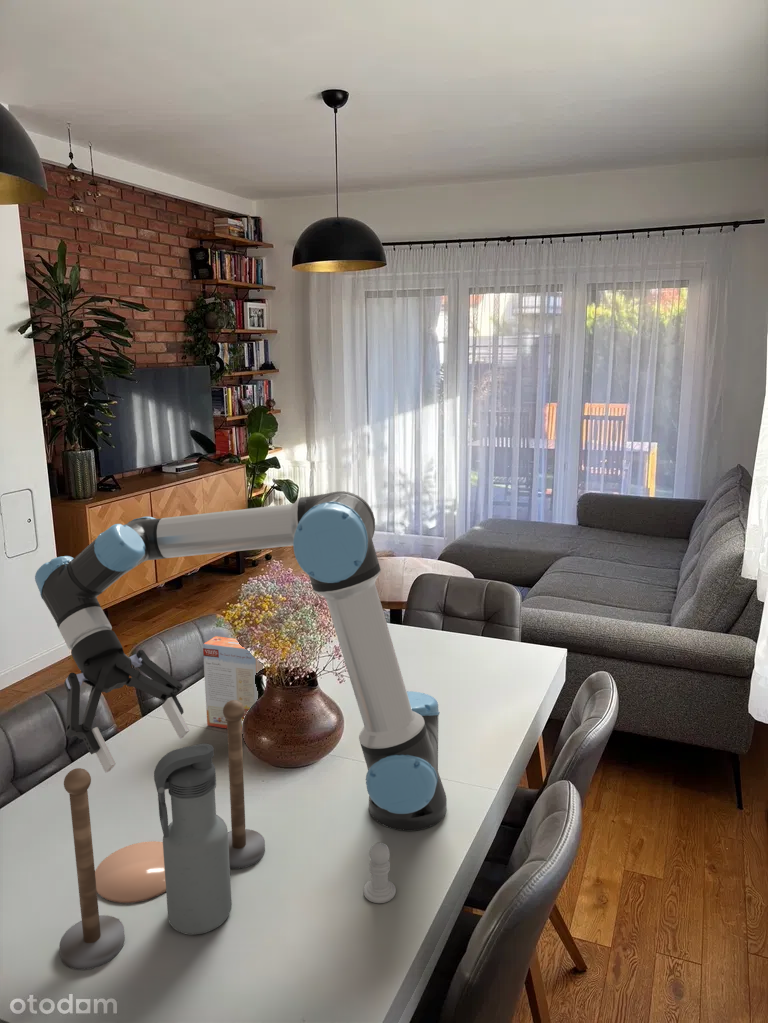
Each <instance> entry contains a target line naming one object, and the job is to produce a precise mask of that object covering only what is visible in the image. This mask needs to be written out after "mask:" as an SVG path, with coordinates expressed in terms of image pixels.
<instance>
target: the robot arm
mask: <svg viewBox="0 0 768 1023" xmlns="http://www.w3.org/2000/svg"><path fill="white" fill-rule="evenodd" d="M375 531H376V518H375V516H374V512H373V510H372V508H371V506H370V505H369V504H368V503H367V501H366V500H365V499H364V498H362V497H360V495H358V494H356V493H353V492H350V491H331V492H328V493H322V494H316V495H311V496H310V495H309V496H301V497H297V499H296V500H295V502H294V503H291V504H289V503H288V504H281V505H280V504H279V505H271V506H260V507H250V508H244V509H234V510H225V511H224V510H223V511H215V512H207V513H197V514H196V513H195V514H187V515H179V516H169V517H162V518H156V517H153V516H142V517H138V518H133V519H132V520H131V521H129V522H127V523H125V524H122V523H114V524H112V525H111V526H110V527H108V528H107V529H105V530H104V531H102V532H101V533H99V534H97V537H96V538H95V539H93V541H92V542H91V543H90V544H88V545H87V546H86V547H85V548H84V549H83V550H82V551H81V552H80V553H79V554H77V555H76V556H75V557H72V556H70V555H64V556H57V557H55V558H52V559H51V560H50V561H48V562H45V563H43V564H42V565H41V566H40V567H39V568H38V569H37V570H36V571H35V574H34V581H35V583H36V586H37V588H38V591H39V596H40V597H41V599H42V601H43V602H44V603H45V605H46V607H47V608H48V610H49V612H50V614H51V616H52V617H53V620H54V621H55V623H56V626H57V628H58V631H59V632H60V635H61V636H62V639H63V640H64V642H65V644H66V646H67V648H68V649H69V650H71V652H70V654H71V656H72V659H73V660H74V662H75V665H77V668H78V670H80V673H77V674H76V673H75V672H70V673H69V674H68V676H67V677H66V679H65V680H64V682H63V683H64V686H65V689H66V692H67V703H66V721H65V723H66V724H65V736H66V737H67V738H69V739H71V738H73V737H77V738H78V739H79V740H82V741H83V743H84V745H85V746H86V749H87V751H88V752H89V753H90V754H91V755H94V754H95V755H96V757H97V758H98V761H99V762H100V765H101V766H102V769H103V771H104V773H105V774H107V773H109V772H111V770H112V769H113V768H114V767H115V766H116V763H117V762H115V760H114V757H113V755H112V753H111V751H110V749H109V747H108V745H107V743H106V741H105V739H104V738H103V735H102V733H101V731H100V729H99V727H98V726H96V727H94V728H92V726H93V723H94V719H95V717H96V713H97V709H98V706H99V703H100V699H101V696H102V693H105V694H107V693H110V692H112V691H113V690H116V689H121V688H123V687H124V686H127V687H129V688H132V687H133V688H135V689H138V690H139V691H142V692H144V693H146V694H148V695H149V696H152V697H155V698H157V699H158V700H160V701H163V703H162V709H163V710H164V712H165V714H166V715H167V718H168V719H169V722H170V723H171V725H172V727H173V729H174V731H175V732H176V734H177V736H178V738H179V740H181V739H182V738H184V737H185V736H186V735H187V734H188V733H189V732H190V731H191V730H190V727H189V726H188V724H187V722H186V720H185V718H184V716H183V714H184V708H183V707H182V705H181V703H180V701H179V699H178V697H177V695H178V694H179V692H180V691H181V690H182V688H184V687H183V684H182V683H181V682H180V681H179V680H177V679H176V678H175V677H174V676H172V675H171V674H170V673H168V672H167V671H166V670H164V669H163V668H161V667H160V666H159V665H158V664H157V663H155V662H154V661H152V660H151V659H150V658H149V656H148V655H147V654H146V652H145V650H143V649H139V650H138V651H137V652H136V653H135V654H133V655H131V656H128V655H127V654H126V653H125V651H124V648H123V646H122V644H121V642H120V639H119V638H118V636H117V633H115V631H114V630H112V629H113V627H112V624H111V623H110V620H109V619H108V617H107V615H106V614H105V611H104V610H103V609H102V608H103V607H102V606H101V604H100V601H98V600H99V599H98V596H100V595H101V594H103V593H104V592H105V591H106V590H107V589H108V588H109V587H111V586H112V585H113V584H114V583H116V582H117V581H118V580H120V578H121V577H123V576H124V575H126V574H127V573H129V572H130V571H131V570H133V569H135V568H136V567H138V566H140V565H141V564H143V563H144V562H147V561H154V560H156V561H157V560H161V559H162V560H163V559H170V558H181V557H191V556H192V557H193V556H201V555H202V556H203V555H211V554H223V553H232V552H240V551H252V550H264V549H271V548H281V547H291V546H293V554H294V557H295V560H296V562H297V564H298V566H299V567H300V569H301V570H302V571H303V572H304V573H305V574H306V575H308V577H309V581H310V583H311V586H312V590H313V592H314V593H315V594H318V595H320V596H321V597H323V598H324V599H325V601H326V604H327V608H328V611H329V615H330V617H331V621H332V624H333V627H334V631H335V633H336V637H337V641H338V645H339V646H340V650H341V654H342V657H343V661H344V664H345V668H346V671H347V673H348V674H347V675H348V677H349V680H350V684H351V686H352V690H353V694H354V696H355V700H356V703H357V704H356V705H357V706H358V710H359V713H360V716H361V719H362V723H363V727H362V729H361V731H360V732H359V735H358V740H359V743H360V747H361V750H362V754H363V758H364V760H365V763H366V768H367V772H366V776H365V787H366V791H367V793H368V811H369V814H370V816H371V817H372V818H373V820H375V821H376V822H377V823H379V824H380V825H382V826H384V827H386V828H390V829H393V830H398V831H405V832H406V831H409V832H410V831H411V832H412V831H420V830H424V829H427V828H431V827H432V826H435V825H436V824H439V822H440V821H442V820H443V818H444V817H445V815H446V813H447V808H448V807H447V805H448V804H447V803H448V802H447V795H446V791H445V788H444V785H443V782H442V779H441V776H440V773H439V715H440V711H439V703H438V700H437V699H436V698H435V697H433V696H432V695H431V694H427V693H424V692H419V691H412V690H411V691H409V690H408V691H407V687H406V685H405V681H404V678H403V674H402V671H401V668H400V664H399V661H398V657H397V654H396V650H395V646H394V644H393V640H392V636H391V633H390V630H389V627H388V623H387V619H386V616H385V613H384V609H383V606H382V605H383V604H382V603H381V602H382V601H381V599H380V596H379V592H378V591H379V590H378V589H377V584H376V581H377V579H378V577H379V576H380V574H381V572H382V569H381V566H380V562H379V559H378V556H377V552H376V549H375V546H374V541H373V537H374V535H375ZM132 665H133V666H134V668H138V670H137V669H134V668H133V667H132ZM140 671H141V672H140ZM141 673H143V674H141ZM83 683H84V684H86V685H89V686H90V687H91V689H90V693H89V696H88V701H87V705H86V707H85V710H84V714H83V717H82V721H81V724H80V702H81V701H80V700H81V699H80V698H81V697H80V696H81V686H82V684H83Z"/></svg>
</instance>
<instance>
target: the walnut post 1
mask: <svg viewBox="0 0 768 1023" xmlns="http://www.w3.org/2000/svg"><path fill="white" fill-rule="evenodd" d="M91 782H92V777H91V775H90V773H89V771H88V770H86V769H85V768H80V767H77V768H74V769H71V770H70V771H69V772H68V773H67V774H66V775H65V776H64V779H63V787H64V789H65V792H67V793H68V795H69V802H70V804H69V805H70V813H71V823H72V824H71V825H72V834H73V835H72V836H73V843H74V844H73V845H74V855H75V856H74V857H75V866H76V873H77V874H76V877H77V885H78V896H79V908H80V917H81V920H80V921H78V922H76V923H74V924H73V925H71V926H70V928H68V929H67V930H66V931H65V933H64V934H63V935H62V937H61V939H60V942H59V954H60V955H59V956H60V960H61V962H62V963H63V965H64V966H66V967H67V968H68V969H69V968H70V969H73V970H78V971H79V970H80V971H85V970H91V969H94V968H97V967H100V966H103V965H104V964H107V963H108V962H110V961H111V960H112V959H114V958H115V957H116V956H117V955H118V954H119V953H120V952H121V950H122V949H123V947H124V944H125V941H126V939H125V938H126V937H125V927H124V924H123V922H122V921H121V919H119V918H117V917H115V916H113V915H108V914H107V915H106V914H104V915H100V913H99V903H98V902H99V901H98V900H99V899H98V893H97V888H96V878H95V871H96V868H95V859H94V847H93V837H92V836H93V834H92V826H91V823H92V822H91V814H90V805H89V804H90V803H89V792H88V789H89V788H90V786H91Z"/></svg>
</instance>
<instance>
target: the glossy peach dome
mask: <svg viewBox="0 0 768 1023" xmlns="http://www.w3.org/2000/svg"><path fill="white" fill-rule="evenodd" d="M95 878H96V888H97V895H99V897H101V898H103V899H104V900H107V901H108V902H109V901H110V902H112V903H119V904H132V903H133V904H134V903H139V902H144V901H148V900H150V899H153V898H157V897H158V896H161V895H162V894H164V893H166V881H165V867H164V853H163V841H156V840H155V841H154V840H153V841H152V840H151V841H150V840H149V841H141V842H137V843H133V844H129V845H126V846H124V847H122V848H119V849H117V850H115V851H114V852H112V853H111V854H109V855H108V856H106V858H104V859H103V860H102V861H101V862H100V863H99V864H98V866H97V867H96V868H95Z"/></svg>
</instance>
